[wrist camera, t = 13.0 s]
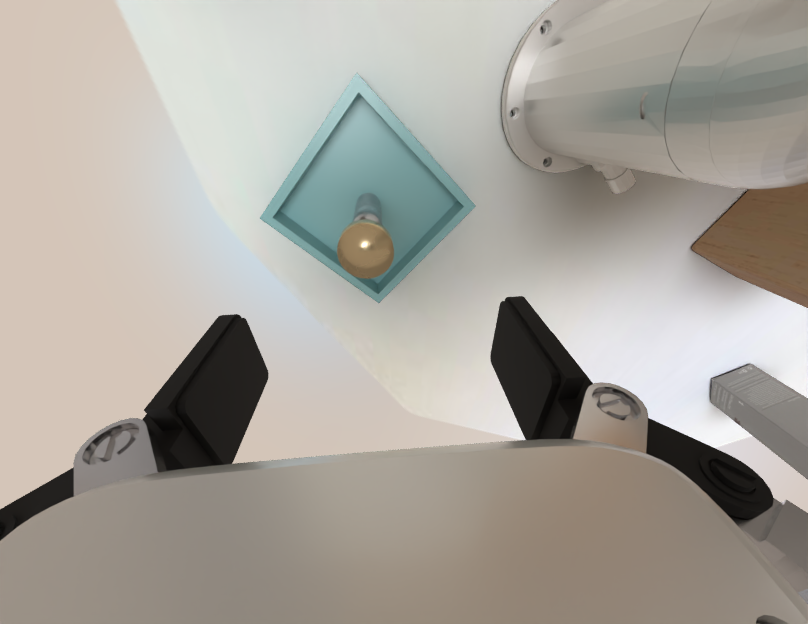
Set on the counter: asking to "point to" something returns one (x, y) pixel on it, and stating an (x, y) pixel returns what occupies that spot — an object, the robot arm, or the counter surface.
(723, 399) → the skincare box
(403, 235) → the tray
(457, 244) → the counter surface
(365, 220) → the lock pin
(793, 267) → the wooden block
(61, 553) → the robot arm
